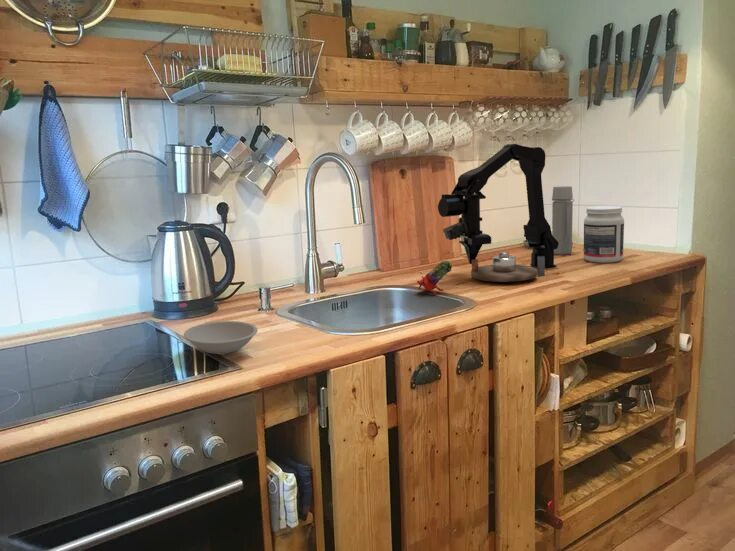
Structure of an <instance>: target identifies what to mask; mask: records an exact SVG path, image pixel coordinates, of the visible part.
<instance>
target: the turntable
mask: <svg viewBox="0 0 735 551" xmlns="http://www.w3.org/2000/svg"><path fill="white" fill-rule="evenodd" d="M470 276H471V278H473V279H477V280H480V281H485V282H486V281H487V282H489V281H497V282H510V281H518V282H522V281H527V280H528V281H529V280H531V279H534V278H537V277H538V268H536V267H534V266H531V265H525V264H524V265H523V264H522V265H521V264H516V271H513V272H494V271H493V268H492V264H486V265H481V266H479V259H478V258H477V259H472V264H471V270H470ZM497 282H496V283H497Z"/></svg>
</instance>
